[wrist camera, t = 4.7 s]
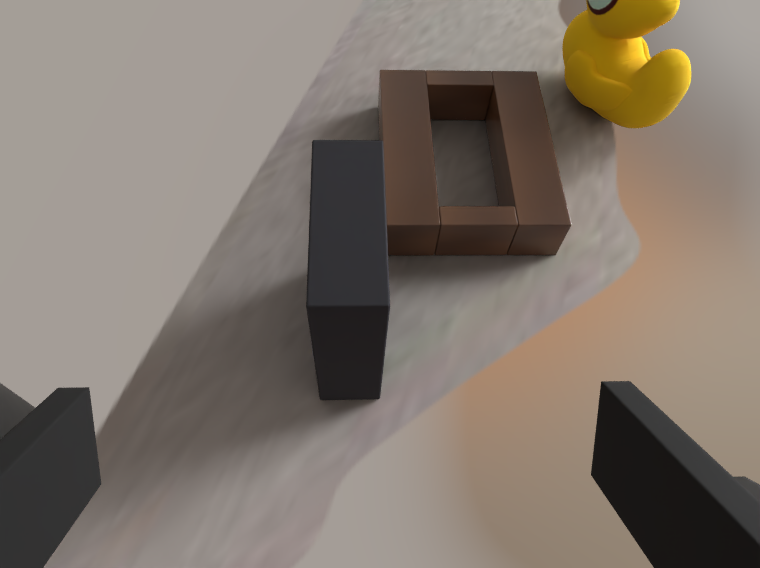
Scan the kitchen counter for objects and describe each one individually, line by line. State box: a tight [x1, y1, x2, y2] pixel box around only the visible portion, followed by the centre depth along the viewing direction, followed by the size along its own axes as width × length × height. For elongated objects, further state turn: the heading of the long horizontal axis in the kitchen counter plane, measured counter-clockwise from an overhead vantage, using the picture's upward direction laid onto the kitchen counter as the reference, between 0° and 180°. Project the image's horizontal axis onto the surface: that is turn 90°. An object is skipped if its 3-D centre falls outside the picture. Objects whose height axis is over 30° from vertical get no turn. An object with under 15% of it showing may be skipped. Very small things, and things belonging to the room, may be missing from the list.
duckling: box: [563, 0, 691, 128], centre depth 38 cm, size 11×5×10 cm, turn 25°
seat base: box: [378, 70, 571, 255], centre depth 36 cm, size 10×12×3 cm
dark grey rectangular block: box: [306, 140, 390, 400], centre depth 28 cm, size 3×8×10 cm, turn 2°
